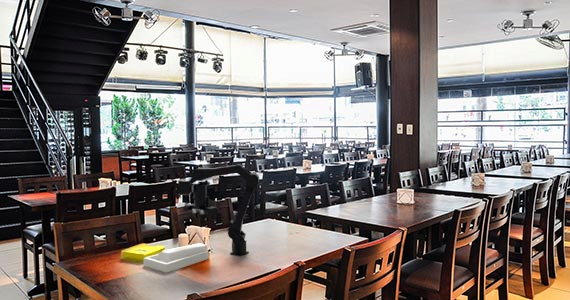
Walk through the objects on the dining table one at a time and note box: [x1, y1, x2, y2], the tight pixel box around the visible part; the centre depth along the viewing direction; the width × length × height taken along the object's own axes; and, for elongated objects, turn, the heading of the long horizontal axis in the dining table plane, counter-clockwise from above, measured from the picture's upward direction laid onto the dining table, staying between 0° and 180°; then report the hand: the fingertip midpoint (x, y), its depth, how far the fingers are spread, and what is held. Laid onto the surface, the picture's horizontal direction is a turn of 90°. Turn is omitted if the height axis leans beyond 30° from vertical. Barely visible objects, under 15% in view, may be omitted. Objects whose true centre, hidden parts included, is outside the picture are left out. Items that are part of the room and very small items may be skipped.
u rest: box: [143, 250, 210, 274], centre depth 197 cm, size 16×24×4 cm
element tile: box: [120, 243, 166, 264], centre depth 207 cm, size 15×15×5 cm
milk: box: [159, 242, 208, 263], centre depth 198 cm, size 6×6×22 cm
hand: (201, 227), depth 208 cm, fingers closed
